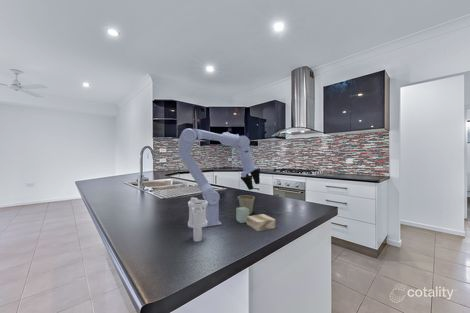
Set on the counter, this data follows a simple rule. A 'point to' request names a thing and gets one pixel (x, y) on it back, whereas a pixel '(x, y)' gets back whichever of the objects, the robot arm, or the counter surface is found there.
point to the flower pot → (246, 202)
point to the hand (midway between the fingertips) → (254, 186)
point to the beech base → (260, 222)
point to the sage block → (242, 214)
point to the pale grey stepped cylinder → (197, 217)
